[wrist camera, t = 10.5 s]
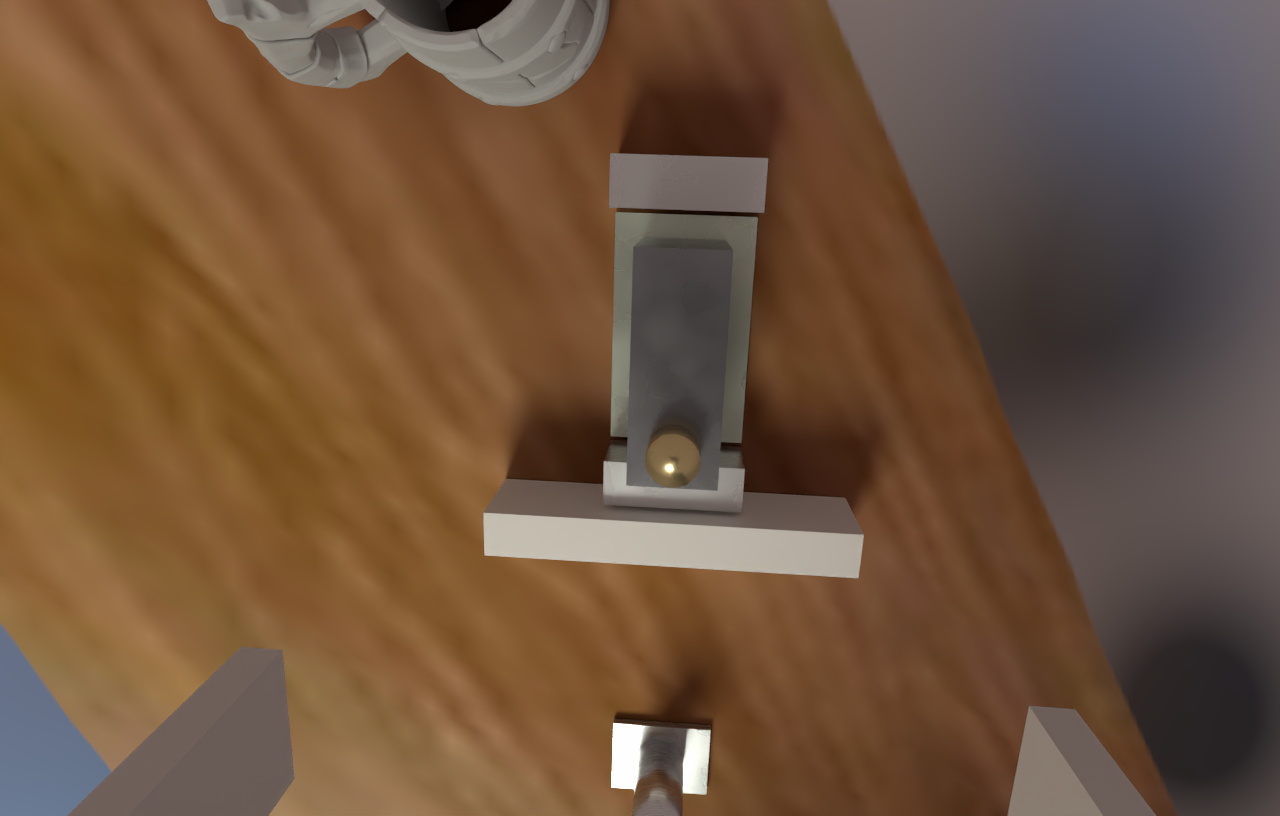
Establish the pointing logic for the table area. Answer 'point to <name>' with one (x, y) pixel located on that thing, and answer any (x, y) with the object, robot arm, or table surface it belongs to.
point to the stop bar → (678, 361)
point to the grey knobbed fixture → (660, 763)
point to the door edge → (674, 531)
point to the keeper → (732, 191)
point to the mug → (428, 43)
